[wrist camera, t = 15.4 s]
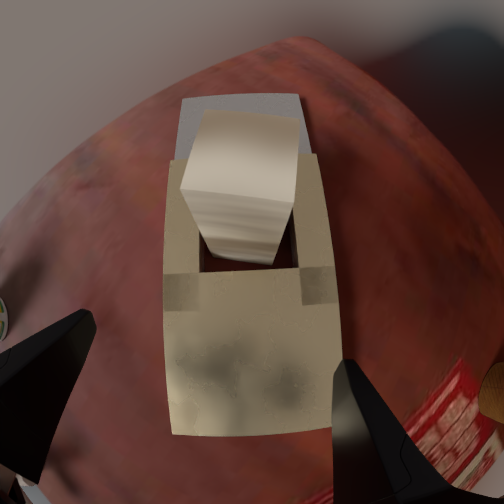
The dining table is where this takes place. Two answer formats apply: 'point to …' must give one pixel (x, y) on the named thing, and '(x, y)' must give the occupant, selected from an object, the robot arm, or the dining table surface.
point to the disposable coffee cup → (493, 393)
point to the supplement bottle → (3, 320)
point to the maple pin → (242, 182)
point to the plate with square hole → (250, 306)
